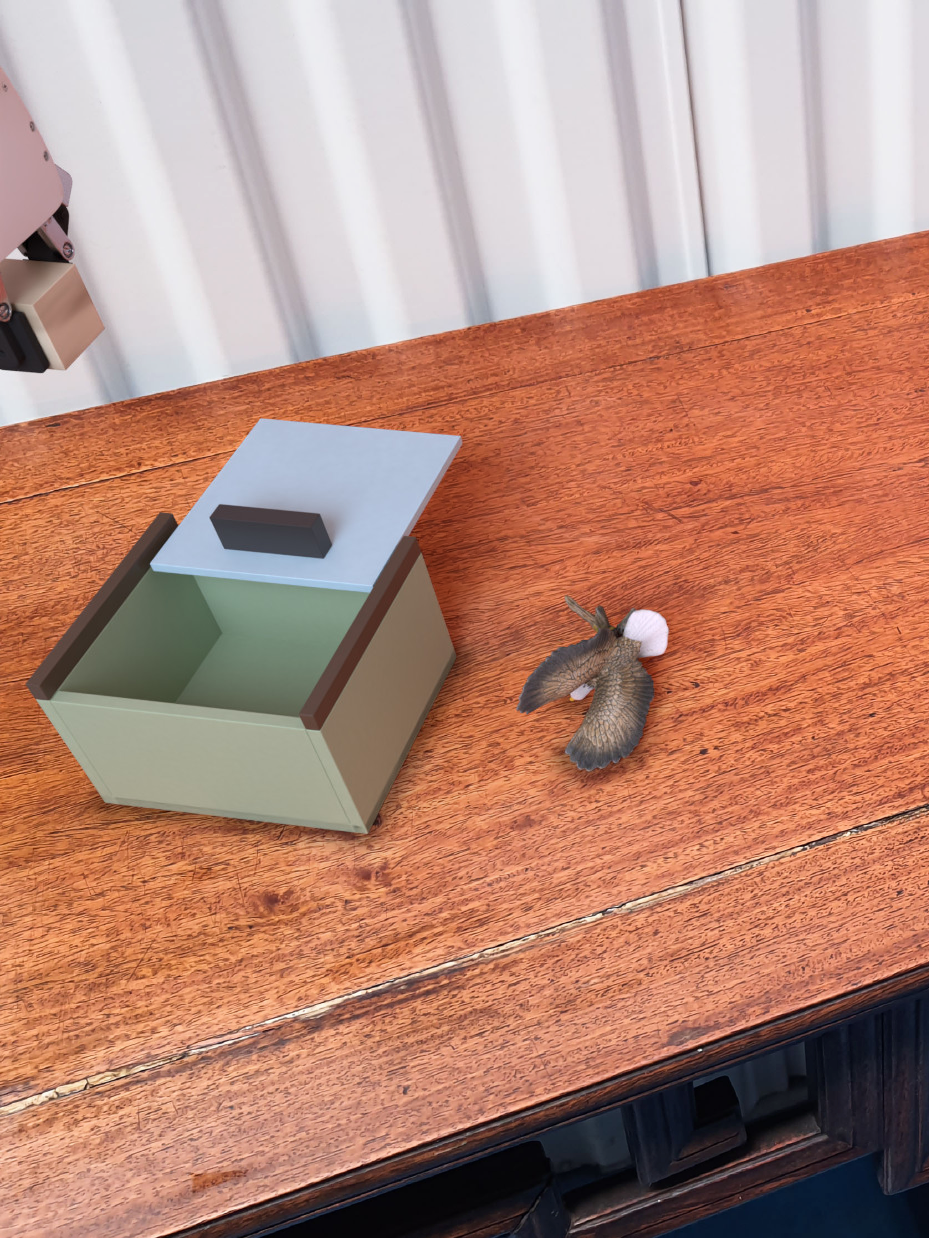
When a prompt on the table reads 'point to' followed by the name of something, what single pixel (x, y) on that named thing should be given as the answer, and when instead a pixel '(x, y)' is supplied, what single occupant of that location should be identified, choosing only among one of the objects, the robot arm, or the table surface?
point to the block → (53, 307)
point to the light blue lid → (310, 505)
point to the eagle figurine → (602, 683)
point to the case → (247, 689)
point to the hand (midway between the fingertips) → (47, 340)
